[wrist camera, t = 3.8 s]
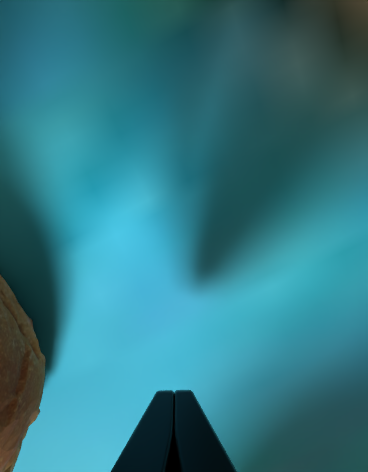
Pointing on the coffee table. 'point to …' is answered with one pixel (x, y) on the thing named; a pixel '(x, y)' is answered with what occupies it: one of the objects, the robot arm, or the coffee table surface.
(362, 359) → the coffee table surface
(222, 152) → the coffee table surface
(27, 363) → the bread roll
